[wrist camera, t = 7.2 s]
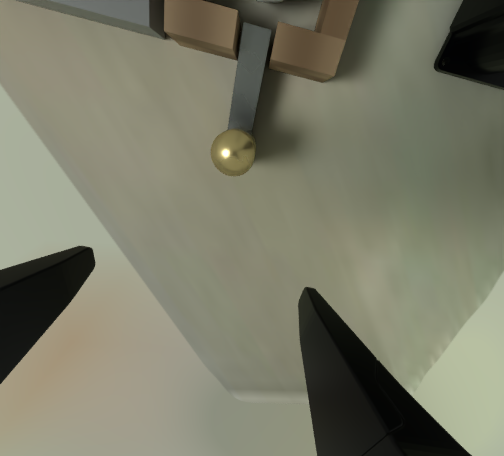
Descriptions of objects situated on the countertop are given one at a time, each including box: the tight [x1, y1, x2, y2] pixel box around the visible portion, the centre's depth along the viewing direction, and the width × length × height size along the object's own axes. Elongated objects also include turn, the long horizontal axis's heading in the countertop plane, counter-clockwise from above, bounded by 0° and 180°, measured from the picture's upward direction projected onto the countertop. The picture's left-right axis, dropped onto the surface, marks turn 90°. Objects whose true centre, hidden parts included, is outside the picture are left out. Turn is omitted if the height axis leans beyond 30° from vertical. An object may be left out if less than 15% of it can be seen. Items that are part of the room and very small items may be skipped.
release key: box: [211, 22, 272, 176], centre depth 15 cm, size 3×9×4 cm, turn 168°
